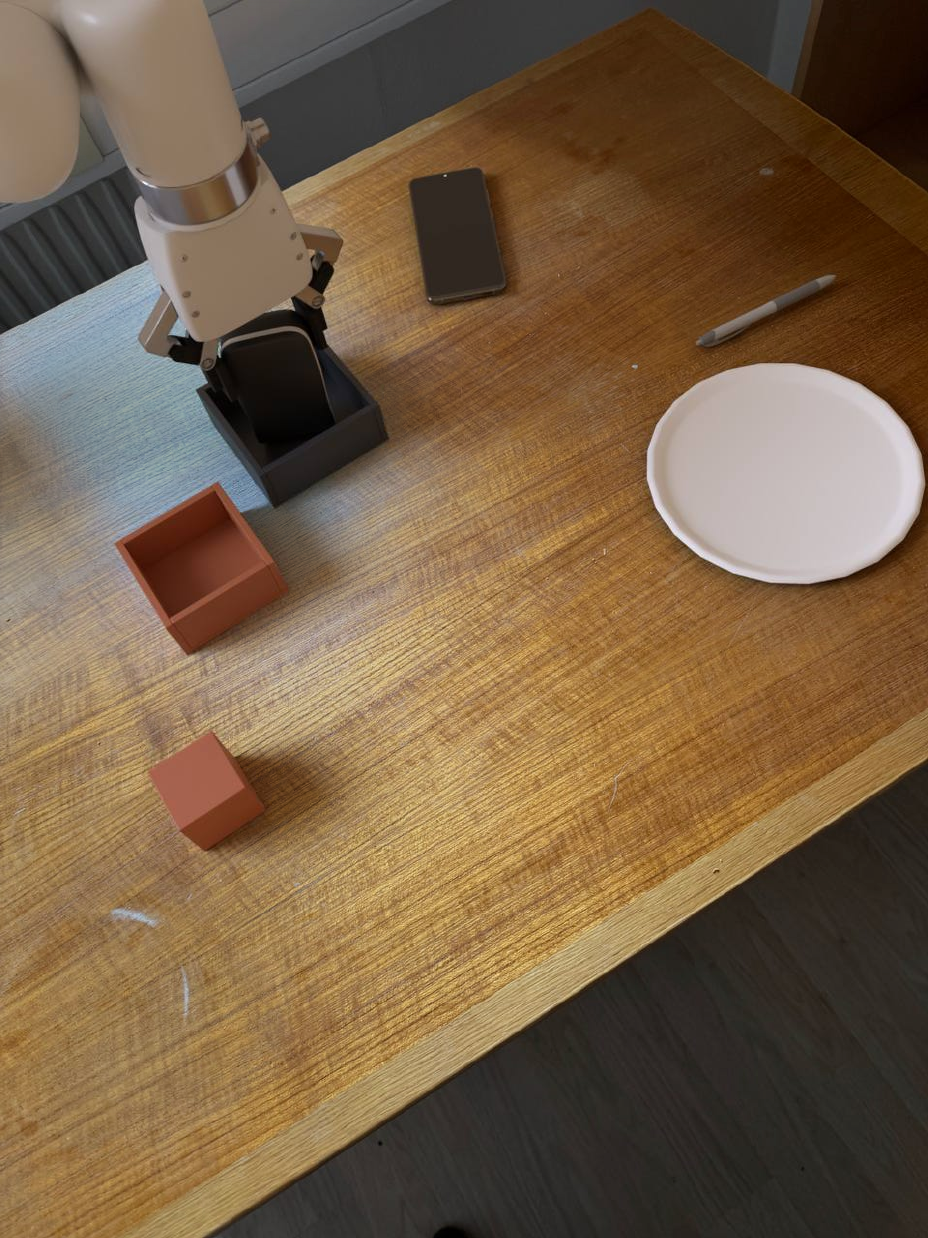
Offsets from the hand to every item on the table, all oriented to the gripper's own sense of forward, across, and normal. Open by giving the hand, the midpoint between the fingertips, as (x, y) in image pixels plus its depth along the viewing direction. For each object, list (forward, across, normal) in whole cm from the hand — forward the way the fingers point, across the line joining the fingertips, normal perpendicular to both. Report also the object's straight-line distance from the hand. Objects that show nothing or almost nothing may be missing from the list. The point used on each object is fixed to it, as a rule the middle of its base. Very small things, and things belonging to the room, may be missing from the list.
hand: (271, 362), depth 80 cm
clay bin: (+9, +13, +9) cm, 18 cm away
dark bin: (+9, 0, 0) cm, 9 cm away
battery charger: (+7, 0, 0) cm, 7 cm away
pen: (+9, -38, +15) cm, 42 cm away
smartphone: (+9, -23, -10) cm, 27 cm away
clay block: (+9, +21, +25) cm, 34 cm away
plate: (+9, -28, +28) cm, 41 cm away
